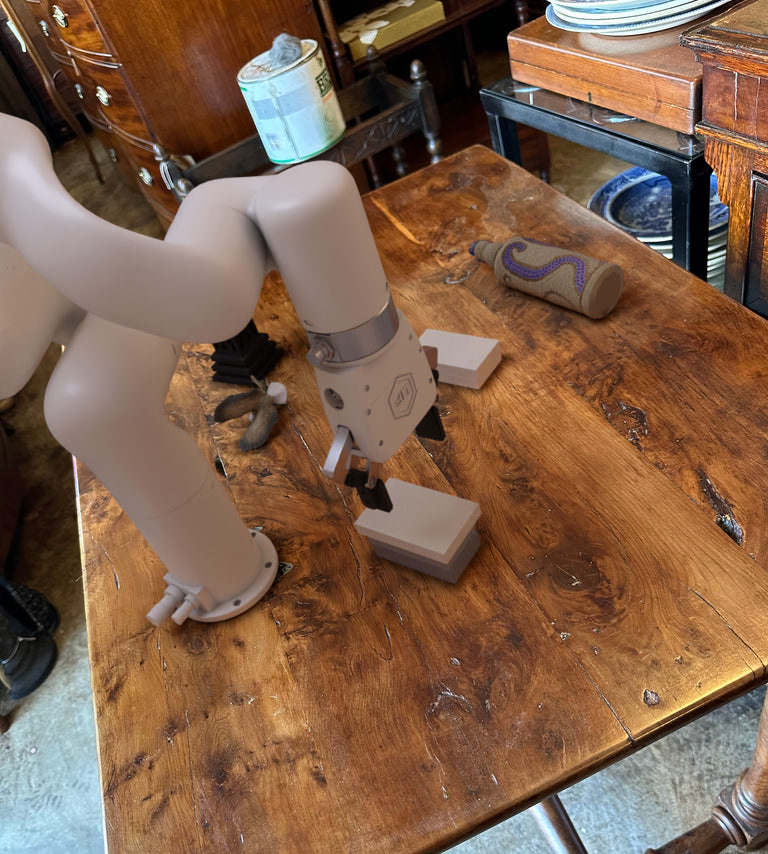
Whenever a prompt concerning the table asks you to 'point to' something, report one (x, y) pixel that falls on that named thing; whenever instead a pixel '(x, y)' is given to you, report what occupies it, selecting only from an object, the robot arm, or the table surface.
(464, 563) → the grey stack
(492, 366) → the white stack
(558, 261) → the decorative bottle
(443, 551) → the white book
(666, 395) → the table surface
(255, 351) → the chess piece
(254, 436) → the eagle figurine
